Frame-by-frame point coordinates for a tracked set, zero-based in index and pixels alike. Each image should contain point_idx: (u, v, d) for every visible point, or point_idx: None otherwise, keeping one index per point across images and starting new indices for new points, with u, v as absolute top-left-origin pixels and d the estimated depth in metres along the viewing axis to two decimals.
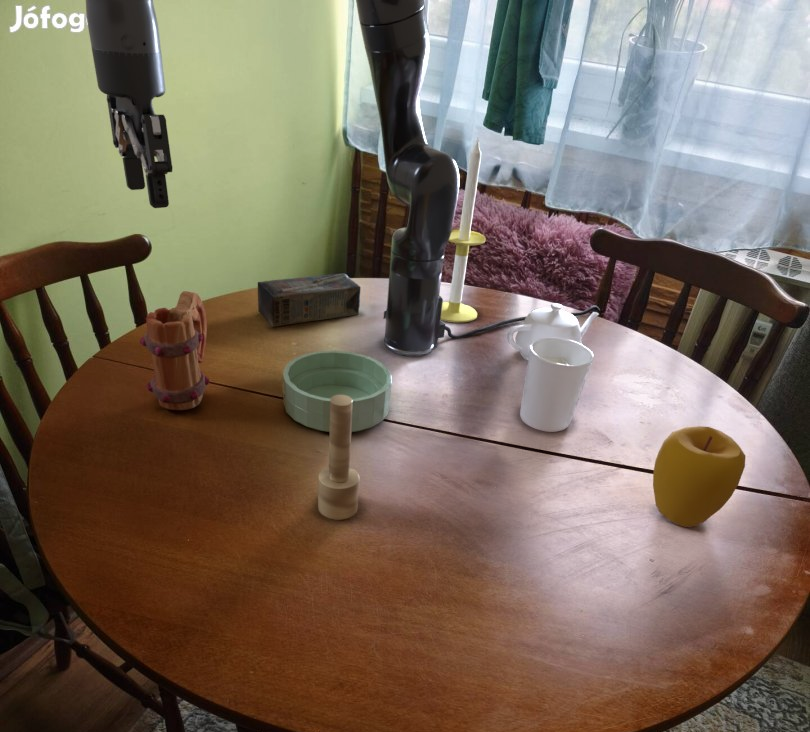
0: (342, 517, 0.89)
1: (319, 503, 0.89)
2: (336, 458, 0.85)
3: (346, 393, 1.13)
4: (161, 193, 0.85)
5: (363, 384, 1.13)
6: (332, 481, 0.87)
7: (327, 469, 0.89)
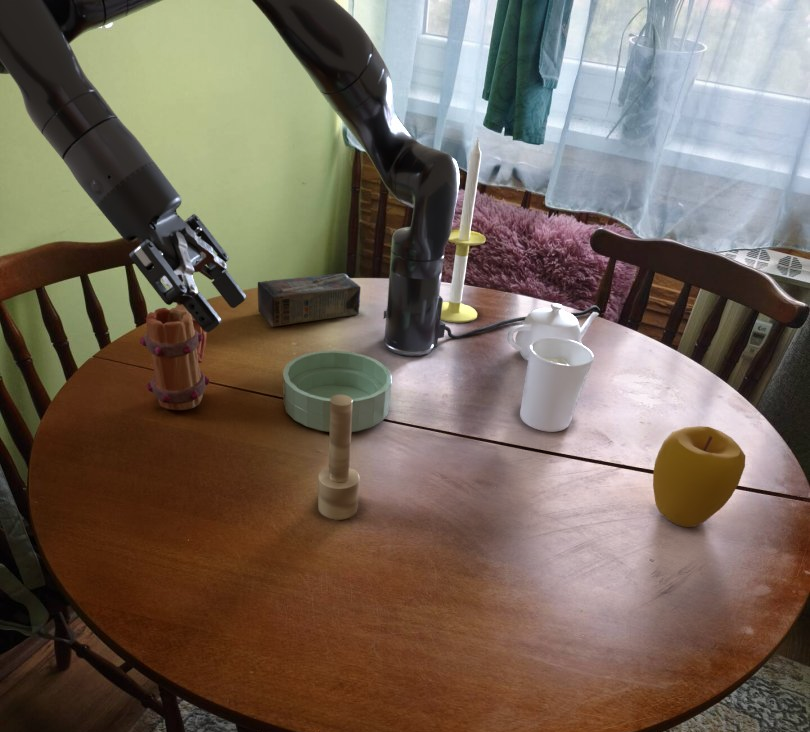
0: (342, 517, 0.89)
1: (319, 503, 0.89)
2: (336, 458, 0.85)
3: (346, 393, 1.13)
4: (200, 315, 0.73)
5: (363, 384, 1.13)
6: (332, 481, 0.87)
7: (327, 469, 0.89)
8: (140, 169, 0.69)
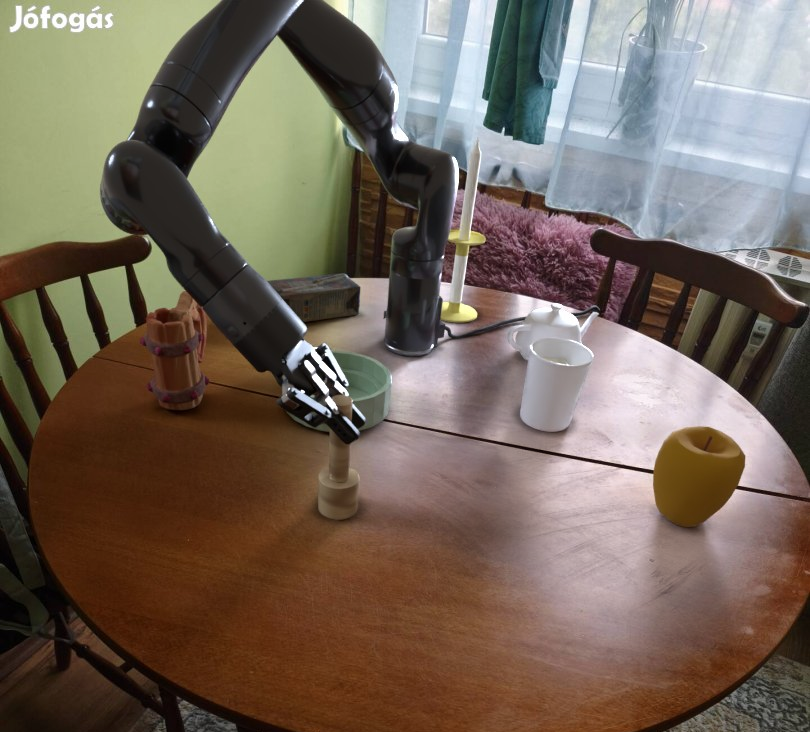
0: (342, 517, 0.89)
1: (319, 503, 0.89)
2: (336, 458, 0.85)
3: None
4: (342, 432, 0.81)
5: (363, 384, 1.13)
6: (332, 481, 0.87)
7: (327, 469, 0.89)
8: (271, 311, 0.74)
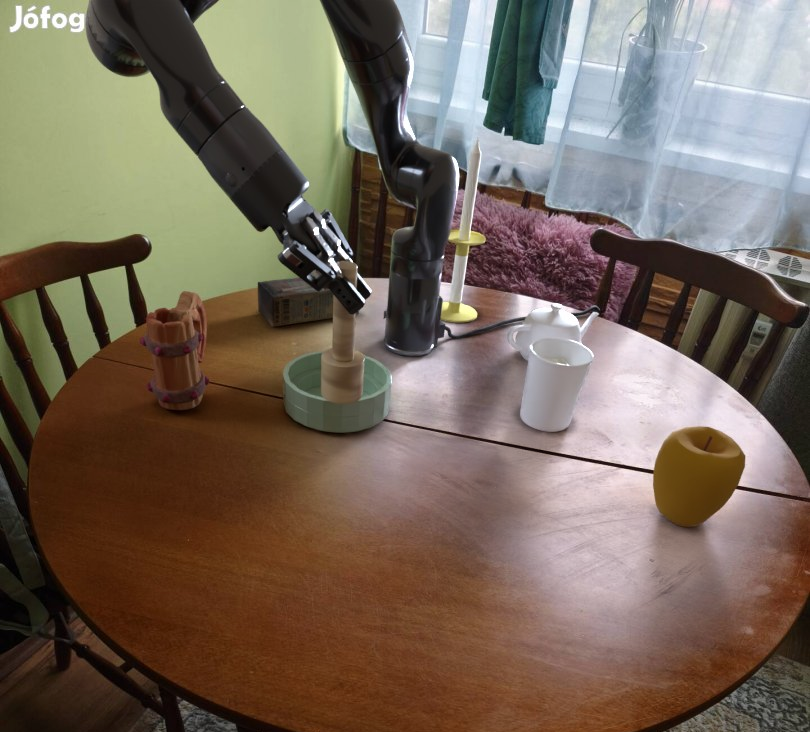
0: (346, 401, 0.85)
1: (322, 387, 0.85)
2: (340, 332, 0.80)
3: None
4: (347, 299, 0.76)
5: (363, 384, 1.13)
6: (336, 360, 0.83)
7: (330, 350, 0.85)
8: (271, 157, 0.69)
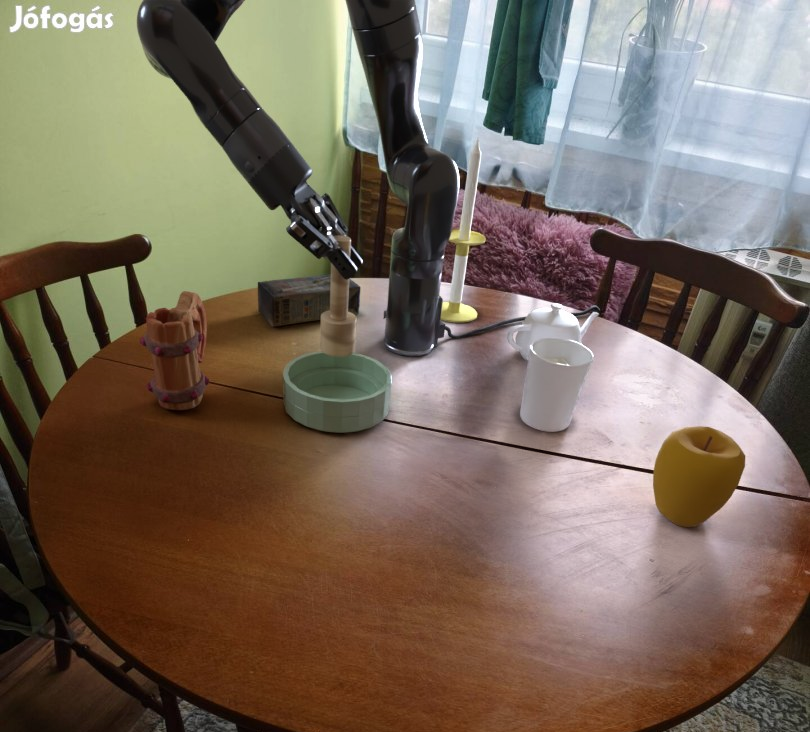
0: (341, 354, 1.02)
1: (321, 342, 1.02)
2: (336, 295, 0.97)
3: (346, 393, 1.13)
4: (342, 266, 0.93)
5: (363, 384, 1.13)
6: (333, 319, 1.00)
7: (328, 312, 1.01)
8: (282, 149, 0.86)
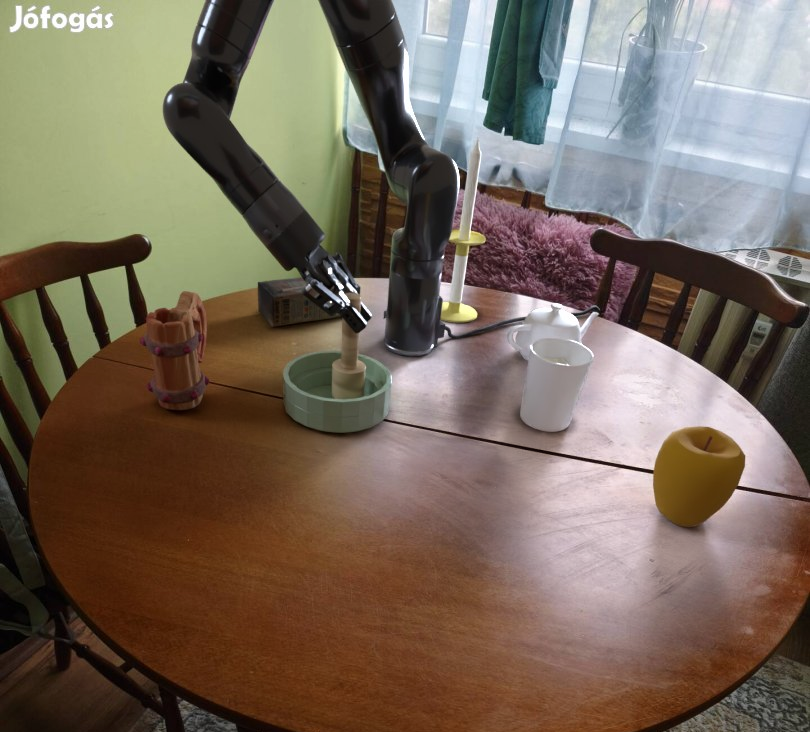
0: None
1: (332, 389, 1.09)
2: (347, 347, 1.04)
3: None
4: (353, 322, 1.00)
5: None
6: (343, 368, 1.06)
7: (339, 360, 1.08)
8: (298, 217, 0.93)
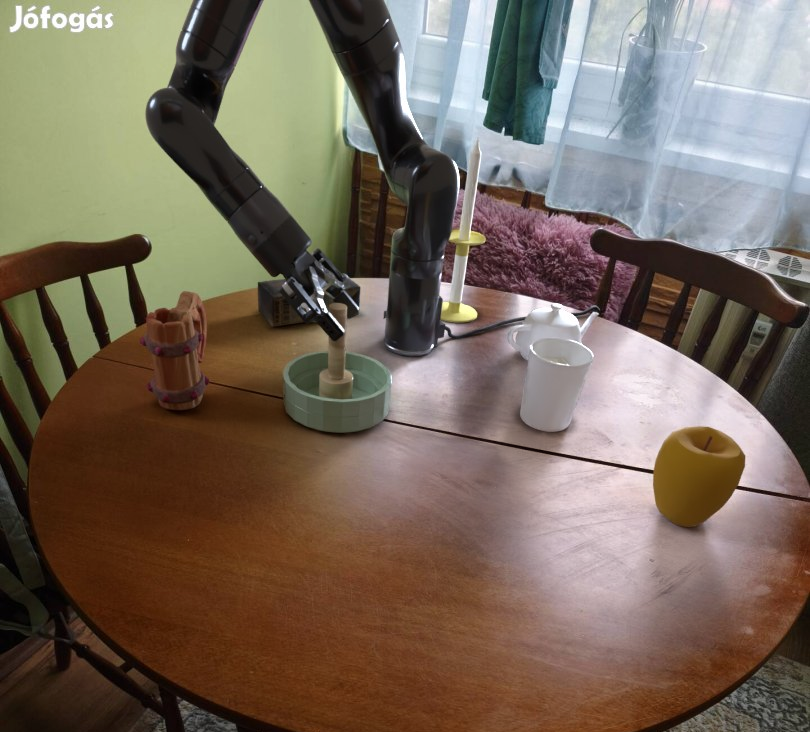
0: None
1: None
2: (333, 357, 1.03)
3: None
4: (330, 329, 0.96)
5: (363, 384, 1.13)
6: (330, 378, 1.06)
7: (326, 370, 1.08)
8: (283, 223, 0.92)
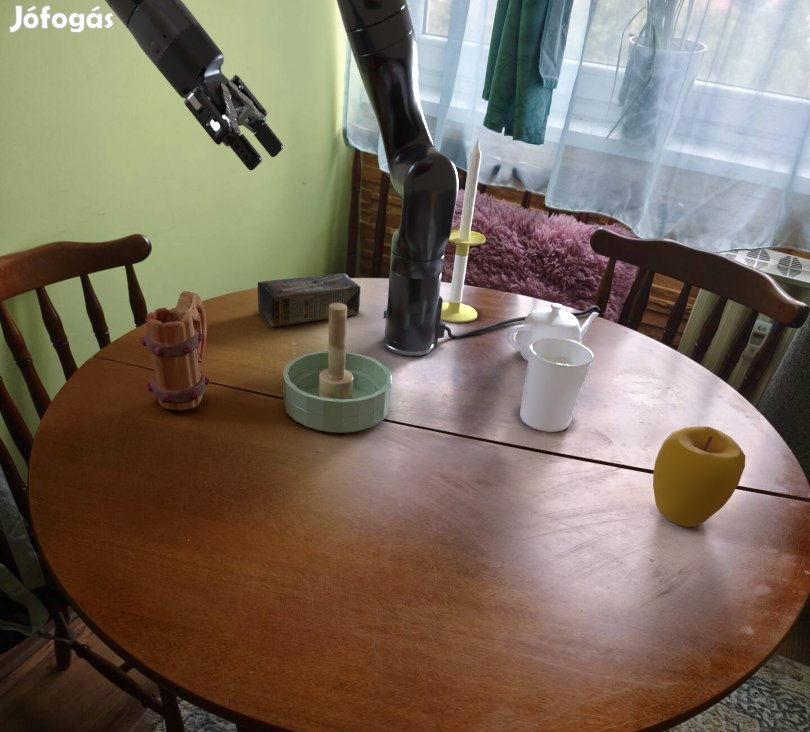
0: None
1: None
2: (333, 357, 1.03)
3: None
4: (244, 154, 0.88)
5: (363, 384, 1.13)
6: (330, 378, 1.06)
7: (326, 370, 1.08)
8: (188, 28, 0.83)
